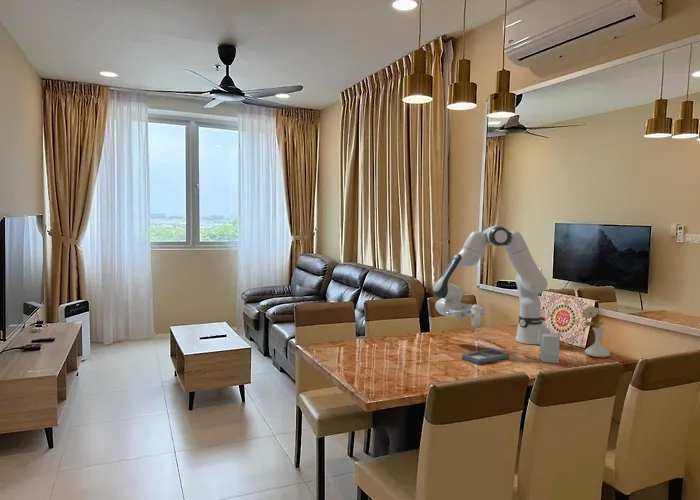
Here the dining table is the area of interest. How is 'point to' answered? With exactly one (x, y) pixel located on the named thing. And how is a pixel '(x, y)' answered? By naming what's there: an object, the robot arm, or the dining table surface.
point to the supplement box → (549, 347)
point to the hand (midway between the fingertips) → (477, 315)
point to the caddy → (485, 356)
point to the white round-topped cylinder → (476, 316)
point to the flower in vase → (597, 347)
